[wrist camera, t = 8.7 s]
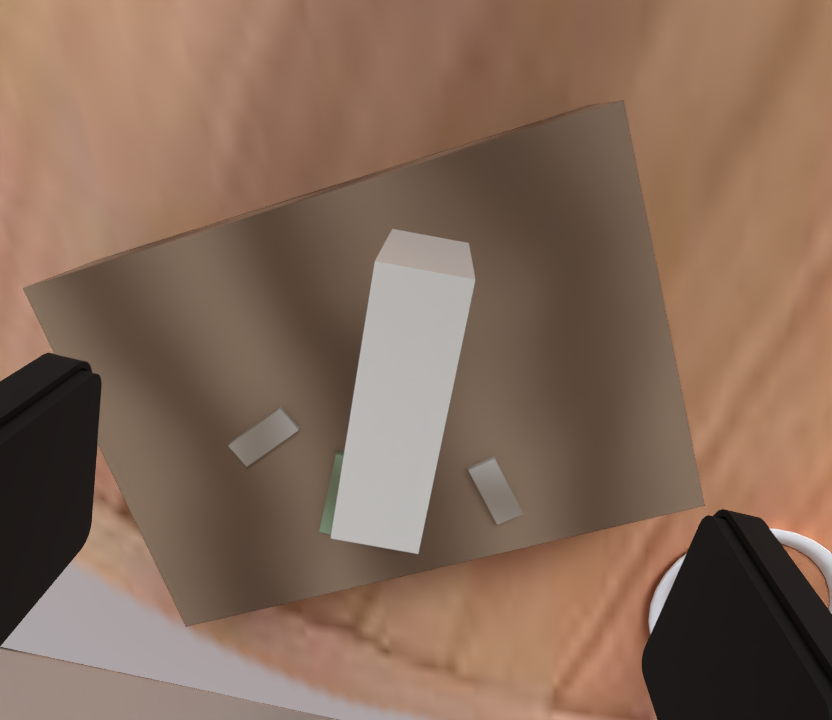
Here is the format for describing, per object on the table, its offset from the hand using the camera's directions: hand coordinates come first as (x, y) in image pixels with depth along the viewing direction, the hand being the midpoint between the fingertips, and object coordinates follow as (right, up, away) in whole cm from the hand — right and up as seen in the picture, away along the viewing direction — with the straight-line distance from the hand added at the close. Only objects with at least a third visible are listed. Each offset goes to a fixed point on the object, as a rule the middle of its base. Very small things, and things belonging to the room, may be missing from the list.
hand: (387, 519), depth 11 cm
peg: (0, +2, +13) cm, 13 cm away
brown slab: (-1, +3, +18) cm, 18 cm away
